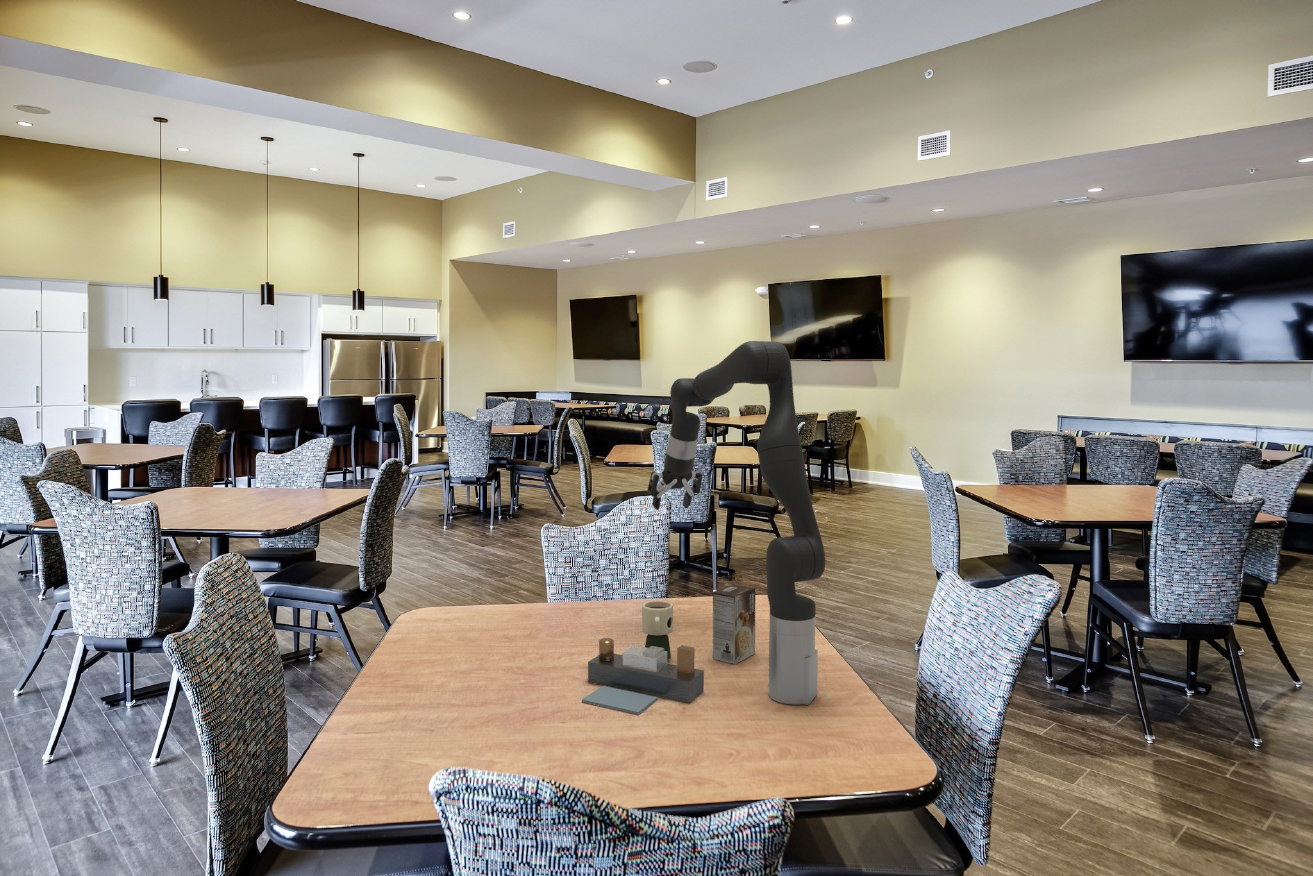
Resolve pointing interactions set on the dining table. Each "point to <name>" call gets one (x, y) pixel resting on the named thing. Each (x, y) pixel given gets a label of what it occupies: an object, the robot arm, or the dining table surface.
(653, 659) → the lever cap
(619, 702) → the mat
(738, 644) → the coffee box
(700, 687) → the dark grey post stand
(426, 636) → the dining table surface
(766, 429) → the robot arm
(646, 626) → the character mug
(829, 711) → the dining table surface
